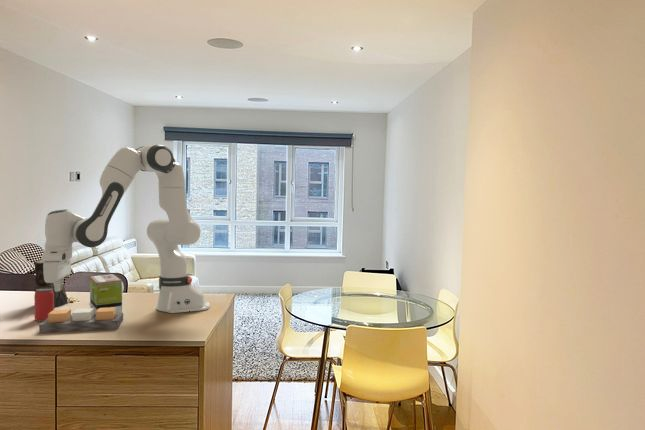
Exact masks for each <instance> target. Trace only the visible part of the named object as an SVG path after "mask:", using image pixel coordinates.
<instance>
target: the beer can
mask: <svg viewBox="0 0 645 430" xmlns="http://www.w3.org/2000/svg"><path fill="white" fill-rule="evenodd" d="M33 296H34V319H35V321H36V322H37V321H38V322H43V321H44V320H46V319H47V318H48V314H49V313H50V312H51V311H52V310H55V308H54V293H53V290H52V288H40V289H37V290H36V292H35V291H34V295H33Z"/></svg>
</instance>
